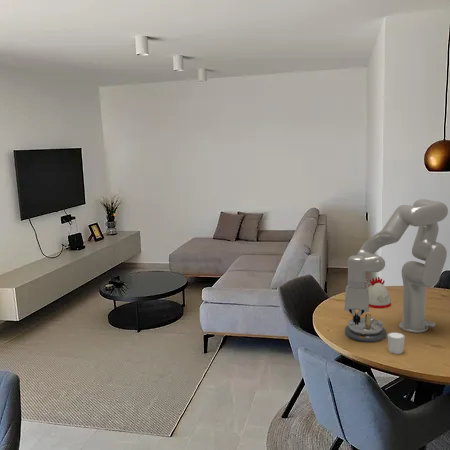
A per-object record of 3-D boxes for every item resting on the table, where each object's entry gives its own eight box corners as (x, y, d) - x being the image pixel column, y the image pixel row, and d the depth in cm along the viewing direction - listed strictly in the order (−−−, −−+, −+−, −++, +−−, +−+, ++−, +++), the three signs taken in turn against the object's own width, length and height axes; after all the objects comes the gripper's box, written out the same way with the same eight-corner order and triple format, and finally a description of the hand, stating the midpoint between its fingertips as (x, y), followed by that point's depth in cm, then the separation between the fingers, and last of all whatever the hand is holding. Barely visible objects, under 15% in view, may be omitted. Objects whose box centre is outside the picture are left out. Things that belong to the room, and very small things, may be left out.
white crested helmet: (359, 301, 264) (359, 274, 262) (382, 298, 267) (382, 272, 264) (371, 309, 251) (372, 281, 248) (396, 306, 253) (396, 279, 251)
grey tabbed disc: (346, 323, 228) (346, 304, 226) (378, 323, 226) (378, 304, 225) (351, 336, 213) (351, 316, 212) (385, 336, 212) (386, 316, 210)
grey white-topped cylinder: (390, 346, 207) (391, 330, 206) (406, 350, 203) (407, 334, 201) (384, 352, 202) (384, 336, 201) (401, 356, 197) (401, 339, 196)
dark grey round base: (387, 329, 225) (387, 324, 225) (384, 344, 209) (384, 339, 208) (348, 324, 232) (348, 320, 232) (342, 339, 216) (342, 334, 215)
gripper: (374, 282, 212) (374, 321, 216) (340, 280, 217) (340, 319, 220) (374, 287, 205) (374, 328, 209) (338, 285, 210) (338, 325, 213)
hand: (356, 323), depth 214 cm, fingers closed
